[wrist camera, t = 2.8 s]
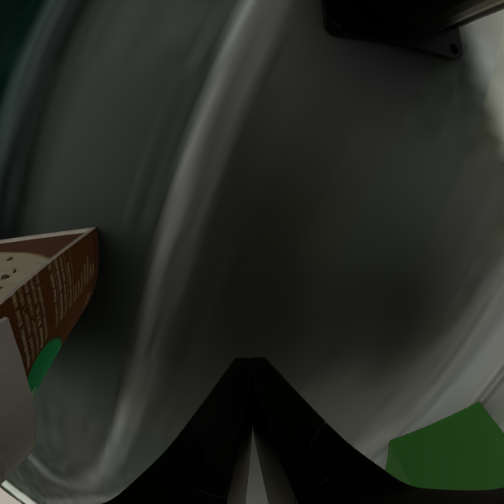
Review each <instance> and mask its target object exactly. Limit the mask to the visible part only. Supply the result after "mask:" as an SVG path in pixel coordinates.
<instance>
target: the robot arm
mask: <svg viewBox="0 0 504 504" xmlns="http://www.w3.org/2000/svg"><path fill="white" fill-rule="evenodd" d="M322 5H323V17H324V25H325V28H326V30H327V31H328V32H329V33H331V34H332V35H336V36H341V37H349V38H355V39H362V40H368V41H373V42H379V43H384V44H389V45H394V46H398V47H403V48H407V49H411V50H415V51H419V52H423V53H427V54H430V55H434V56H437V57H441V58H444V59H447V60H452V61H454V60H457V59H459V58H461V56H462V48H461V41H460V35H459V29H458V28H459V27H461V26H463V25H466V24H468V23H470V22H473V21H475V20H478V19H480V18H482V17H485V16H487V15H490V14H492V13H495V12H497V11H500V10H503V9H504V0H322ZM333 20H337V21H339V22H341V23H342V26H343V27H337V26H336V25H334V23H333ZM450 47H451V48H452V50H453V53H452V51H451V50H450ZM252 422H253V432H254V438H255V443H256V448H257V452H258V457H259V462H260V467H261V471H262V476H263V480H264V485H265V490H266V494H267V498H268V503H269V504H504V487H502V488H497V489H489V490H448V489H430V488H419V487H415V486H412V485H409V484H406V483H404V482H402V481H400V480H399V479H397V478H395V477H394V476H392V475H391V474H390V473H388V472H387V471H385V470H384V469H382V468H381V467H380V466H378V465H377V464H375V463H374V462H372V461H371V460H370V459H368V458H367V457H366V456H364V455H363V454H361V453H360V452H359V451H358V450H356V449H355V448H354V447H353V446H351V445H350V444H349V443H347V442H346V441H345V440H344V439H343V438H342V437H341V436H340V435H339V434H338V433H337V432H336V431H335V430H334V429H333V428H332V427H331V426H330V425H329V424H328V423H326V422H325V420H324V419H323V418H322V417H321V416H320V415H319V414H318V413H317V412H316V411H315V410H314V409H313V408H312V407H311V406H310V405H309V404H308V403H307V402H306V401H305V400H304V399H303V398H302V397H301V396H300V395H299V394H298V392H297V391H296V390H295V389H294V388H293V387H292V386H291V385H290V384H289V383H288V382H287V381H286V380H285V379H284V378H283V376H282V375H281V374H280V373H279V372H278V371H277V370H276V369H275V368H274V367H273V366H272V365H271V363H270V362H269V361H268V360H267V359H266V358H265V357H252V358H251V359H249V358H235V359H234V360H233V361H232V363H231V364H230V366H229V367H228V368H227V370H226V371H225V373H224V374H223V375H222V377H221V378H220V380H219V381H218V382H217V384H216V385H215V387H214V388H213V389H212V391H211V392H210V393H209V395H208V396H207V398H206V399H205V400H204V402H203V403H202V404H201V406H200V407H199V408H198V410H197V411H196V412H195V414H194V415H193V416H192V418H191V419H190V420H189V422H188V423H187V424H186V426H185V427H184V429H183V430H182V431H181V432H180V434H179V435H178V436H177V438H176V439H175V440H174V441H173V442H172V444H171V445H170V446H169V447H168V448H167V450H166V451H165V452H164V453H163V454H162V455H161V456H160V457H159V458H158V459H157V460H156V461H155V462H154V463H153V464H152V465H151V466H150V467H149V468H148V469H147V470H146V471H144V472H143V473H142V474H141V475H140V476H139V477H138V478H137V479H136V480H135V481H134V482H133V483H131V484H130V485H129V486H128V487H127V488H126V489H125V490H124V491H122V492H121V493H120V494H119V495H118V496H116V497H115V498H113V499H111V500H109V501H107V502H105V503H103V504H245V503H246V493H247V483H248V474H249V464H250V454H251V443H252Z"/></svg>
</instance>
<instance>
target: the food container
mask: <svg viewBox="0 0 504 504" xmlns="http://www.w3.org/2000/svg"><path fill="white" fill-rule="evenodd" d="M98 267H99V242H98V233H97V227H92V228H84V229H76V230H68V231H60V232H53V233H45V234H38V235H31V236H24V237H17V238H10V239H3V240H0V485H1V484H2V483H3V482H4V481H5V480H6V479H7V478H8V477H9V476H10V475H11V473H12V472H13V471H14V470H15V469H16V468H17V467H18V466H19V465H20V464H21V463H22V462H23V461H24V460H25V459H26V458H27V457H28V456H29V454H30V453H31V452H32V449H33V446H34V443H35V440H36V418H35V413H34V407H33V401H32V399H33V397H34V395H35V393H36V391H37V389H38V387H39V385H40V384H41V382H42V380H43V378H44V376H45V375H46V373H47V371H48V369H49V367H50V366H51V364H52V362H53V360H54V359H55V357H56V355H57V354H58V352H59V350H60V349H61V347H62V345H63V344H64V342H65V340H66V339H67V337H68V335H69V334H70V332H71V330H72V329H73V327H74V326H75V324H76V322H77V321H78V319H79V318H80V316H81V314H82V313H83V311H84V310H85V308H86V307H87V305H88V303H89V301H90V299H91V296H92V294H93V291H94V288H95V284H96V281H97V274H98Z"/></svg>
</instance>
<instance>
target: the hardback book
mask: <svg viewBox="0 0 504 504" xmlns="http://www.w3.org/2000/svg"><path fill="white" fill-rule="evenodd" d="M385 471H387V472H388V473H390V474H391V475H392V476H394V477H395V478H397V479H399V480H400V481H402V482H404V483H406V484H409V485H412V486H415V487H419V488H430V489H448V490H489V489H497V488H502V487H504V433H503V432H502V430H501V429H500V428H499V426H498V425H497V424H496V423H495V421H494V420H493V419H492V417H491V416H490V415H489V414H488V412H487V411H486V410H485V409H484V407H483V406H482V405H481V404H480V402H477V403H475V404H473V405H471V406H469V407H467V408H465V409H463V410H461V411H459V412H457V413H455V414H453V415H451V416H449V417H447V418H444V419H442V420H440V421H438V422H436V423H433V424H431V425H429V426H426V427H424V428H421V429H419V430H416V431H414V432H411V433H409V434H406V435H404V436H401V437H398V438H396V439H393V440H390V444H389V451H388V457H387V464H386V470H385Z"/></svg>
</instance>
